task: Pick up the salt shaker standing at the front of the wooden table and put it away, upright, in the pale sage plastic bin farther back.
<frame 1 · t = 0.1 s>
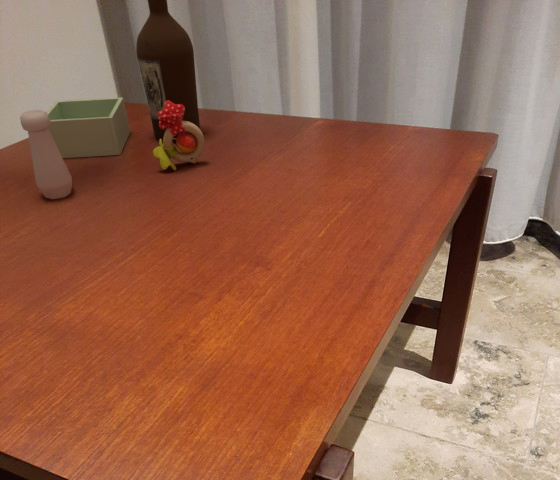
olive oil: (177, 136, 114), on the table
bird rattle: (181, 166, 101), on the table
bin: (91, 144, 111), on the table
salt shaker: (58, 195, 93), on the table
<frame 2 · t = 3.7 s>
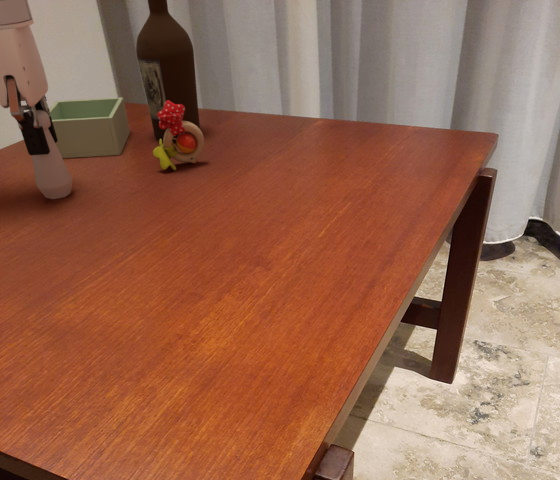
hand: (43, 147, 88), 8 cm above the table, tool pointing down, fingers closed on salt shaker, 4 cm apart
salt shaker: (58, 195, 93), on the table, touching gripper
everything else where it was.
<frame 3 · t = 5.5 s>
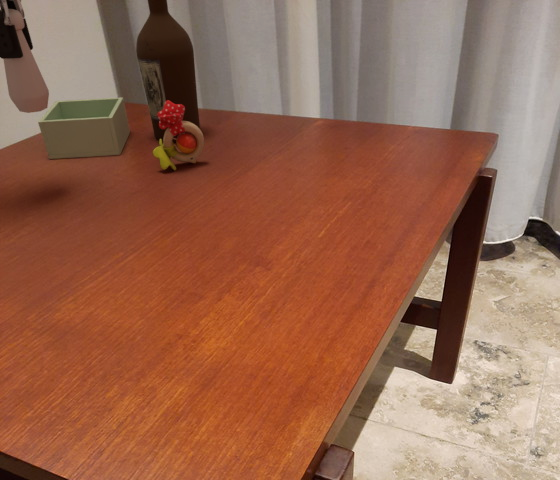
hand: (16, 52, 81), 21 cm above the table, tool pointing down, fingers closed on salt shaker, 4 cm apart
salt shaker: (34, 110, 86), point 13 cm above the table, touching gripper
everything else where it was.
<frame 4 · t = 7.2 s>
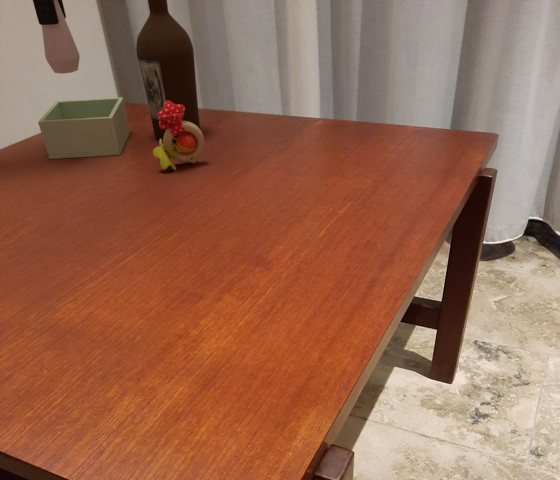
hand: (52, 20, 94), 22 cm above the table, tool pointing down, fingers closed on salt shaker, 4 cm apart
salt shaker: (66, 72, 99), point 14 cm above the table, touching gripper
everything else where it was.
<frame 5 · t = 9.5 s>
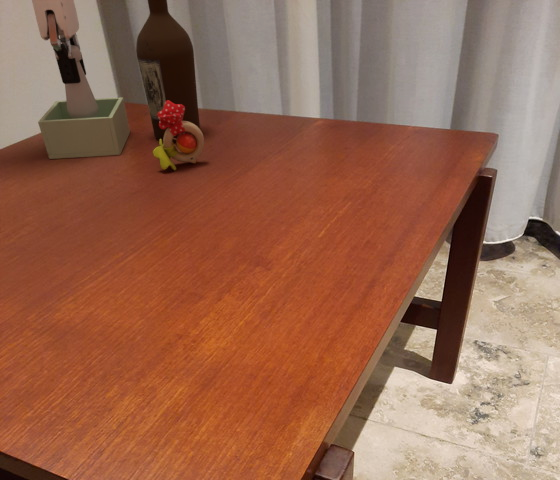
hand: (74, 78, 103), 12 cm above the table, tool pointing down, fingers closed on salt shaker, 4 cm apart
salt shaker: (86, 122, 108), point 4 cm above the table, touching gripper
everything else where it was.
when the fingers open (9 cm above the table, at t = 10.9 s): salt shaker stays where it is, resting on bin.
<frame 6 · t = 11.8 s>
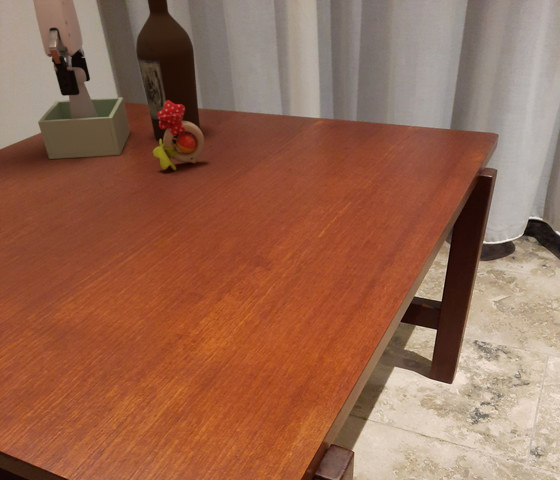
hand: (76, 87, 104), 11 cm above the table, tool pointing down, fingers open, 9 cm apart
salt shaker: (90, 141, 111), point 1 cm above the table, touching bin
everything else where it was.
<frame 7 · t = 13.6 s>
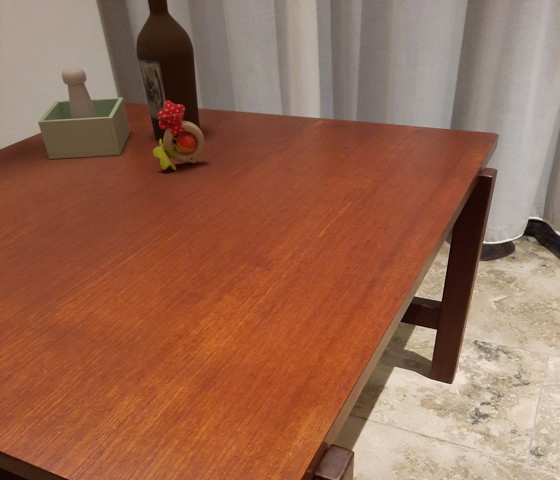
nothing on the table moved.
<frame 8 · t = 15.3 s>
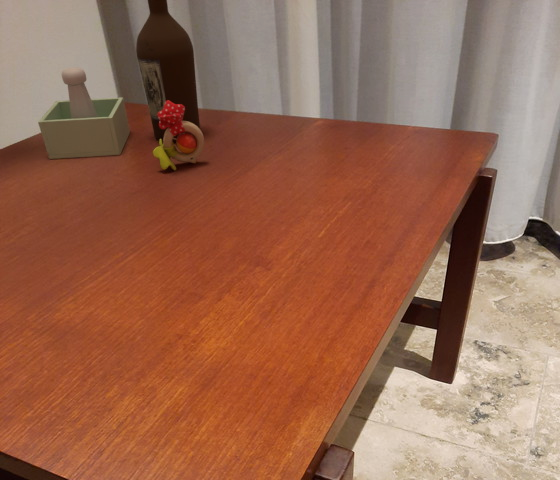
nothing on the table moved.
at the end: salt shaker inside the target area in the bin (0.0 cm from its centre), point 0.6 cm above the bin's base; salt shaker tilted 0°; the gripper is holding nothing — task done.
